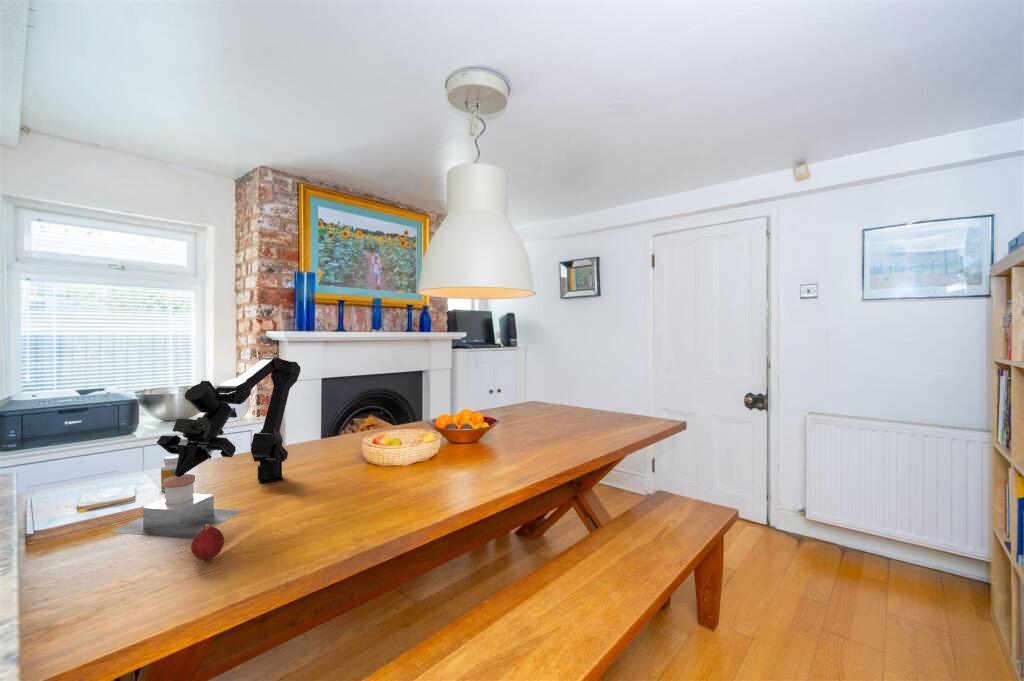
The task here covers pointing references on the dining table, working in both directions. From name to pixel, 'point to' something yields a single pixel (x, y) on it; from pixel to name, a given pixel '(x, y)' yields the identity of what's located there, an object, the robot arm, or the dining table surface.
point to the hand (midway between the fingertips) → (177, 476)
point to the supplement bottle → (168, 468)
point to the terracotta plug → (179, 489)
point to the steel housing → (178, 513)
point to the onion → (207, 543)
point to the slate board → (186, 533)
